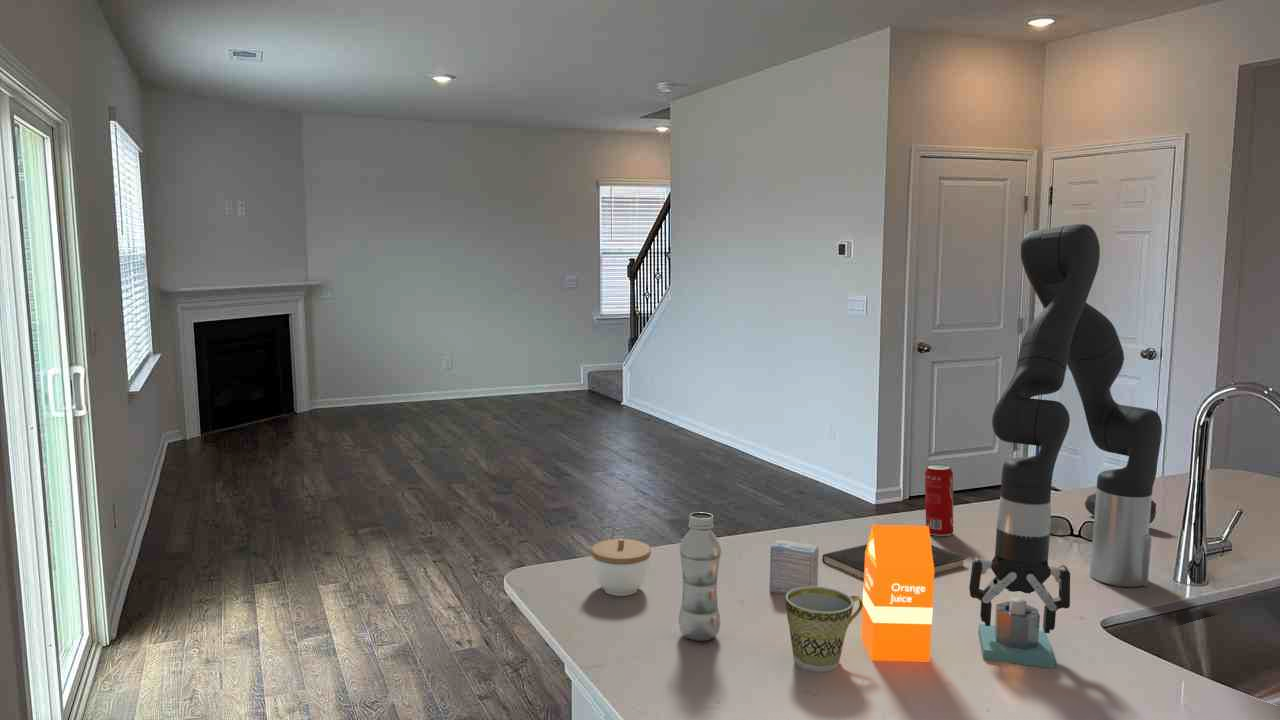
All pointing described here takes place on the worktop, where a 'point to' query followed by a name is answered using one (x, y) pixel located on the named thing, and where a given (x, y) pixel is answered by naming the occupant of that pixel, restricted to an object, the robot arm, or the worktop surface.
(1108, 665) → the worktop surface
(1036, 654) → the shaft stand
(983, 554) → the worktop surface
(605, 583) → the lidded jar
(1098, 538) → the robot arm
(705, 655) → the worktop surface
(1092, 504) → the perforated stone tool
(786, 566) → the medicine box
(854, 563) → the hardcover book
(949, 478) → the beverage can
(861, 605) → the ceramic cup
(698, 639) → the plastic bottle
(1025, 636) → the tube
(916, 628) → the orange juice
